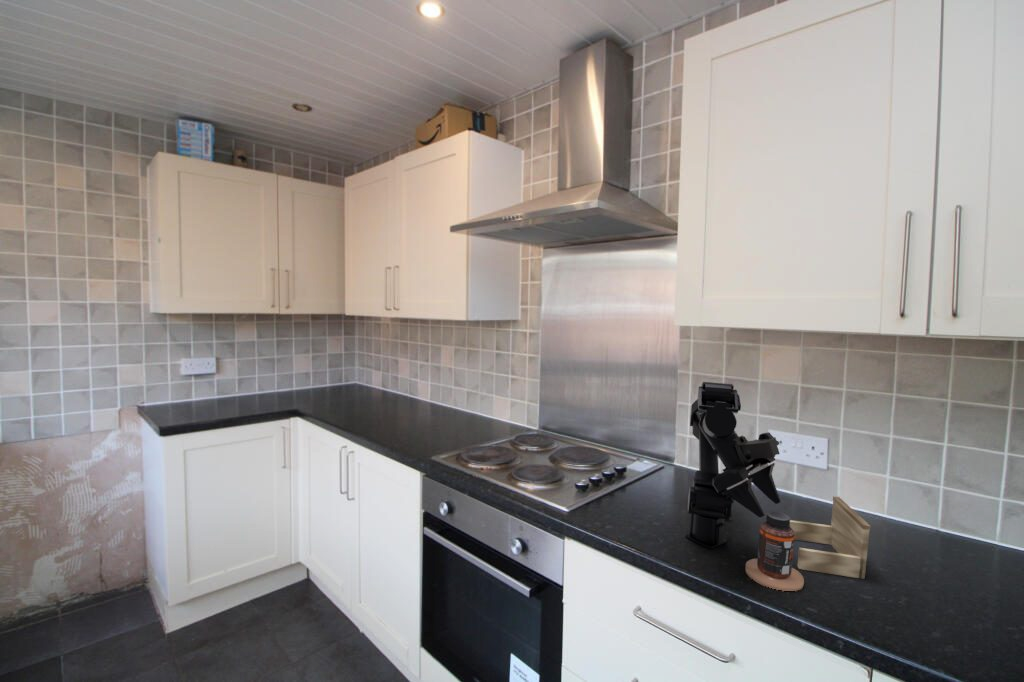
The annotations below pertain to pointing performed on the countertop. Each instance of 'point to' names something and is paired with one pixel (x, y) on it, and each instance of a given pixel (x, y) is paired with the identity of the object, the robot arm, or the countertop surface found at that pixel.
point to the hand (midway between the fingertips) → (770, 509)
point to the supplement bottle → (776, 546)
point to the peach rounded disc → (784, 584)
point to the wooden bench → (835, 543)
